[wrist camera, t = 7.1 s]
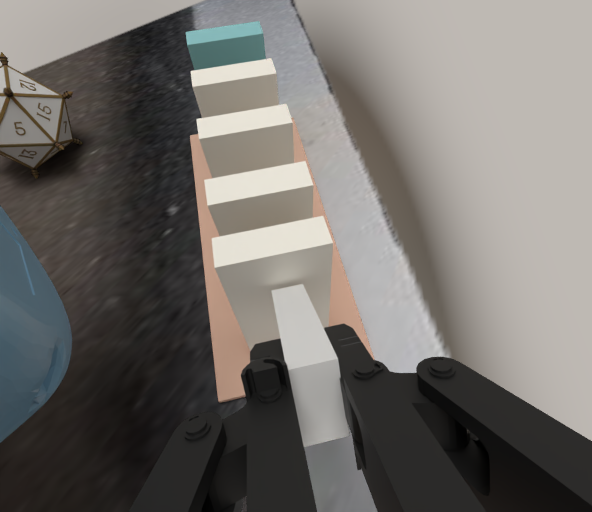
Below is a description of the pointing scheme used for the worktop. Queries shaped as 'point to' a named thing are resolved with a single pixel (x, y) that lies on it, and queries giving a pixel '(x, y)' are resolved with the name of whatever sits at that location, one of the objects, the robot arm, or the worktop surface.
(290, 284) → the domino
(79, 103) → the worktop surface
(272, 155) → the domino
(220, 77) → the domino
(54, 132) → the game die
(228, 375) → the mat
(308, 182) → the domino
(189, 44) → the domino
